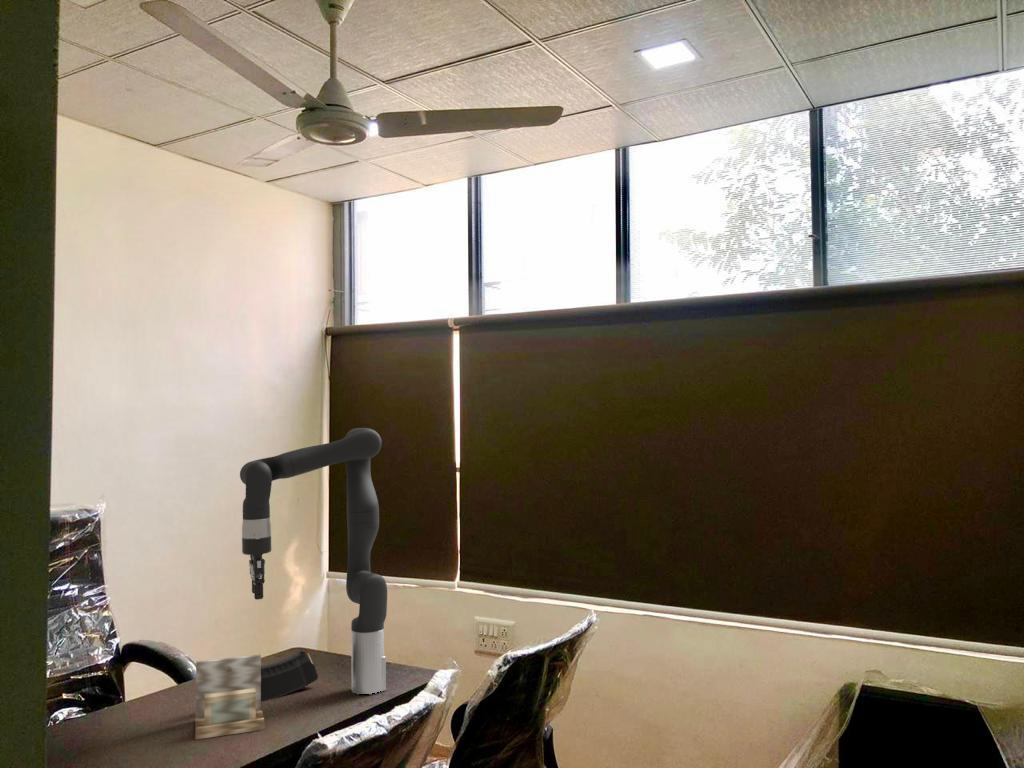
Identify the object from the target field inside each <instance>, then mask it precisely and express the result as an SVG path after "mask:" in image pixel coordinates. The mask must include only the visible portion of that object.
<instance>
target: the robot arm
mask: <svg viewBox="0 0 1024 768" xmlns="http://www.w3.org/2000/svg"><path fill="white" fill-rule="evenodd" d="M382 443H383V442H382V438H381V436H380V434H379V433H378V432H377V431H376V430H374V429H372V428H368V427H358V428H357V427H356V428H352V429H350V430H349V431H348V432H347V433H346V434H345V436H344V438H341V439H339V440H334V441H332V442H328V443H327V442H326V443H322V444H317V445H311V446H307V447H303V448H298V449H294V450H290V451H287V452H283V453H281V454H278V455H274V456H269V457H264V458H259V459H254V460H252V461H248V462H247V463H245V464H244V465H243V466H242V467H241V468H240V471H239V478H240V481H241V482H242V483H243V484H244V485H245V497H244V499H243V501H242V524H241V545H242V547H241V549H242V550H241V552H242V554H243V555H246V556H249V557H250V559H249V560H248V566H249V574H250V579H251V593H252V594H253V596H254V597H253V598H254V600H263V599H264V584H265V580H266V579H265V575H266V568H265V567H266V560H265V558H263V555H264V554H270V552H272V523H271V508H270V507H271V505H270V498H271V493H272V492H271V491H272V483H273V481H277V480H280V479H281V480H282V479H289V478H294V477H297V476H300V475H303V474H304V475H305V474H306V473H311V472H314V471H317V470H319V469H322V468H326V467H328V466H332V465H335V464H339V463H340V464H341V463H344V462H345V463H344V464H345V470H346V471H345V472H346V524H347V569H346V580H345V582H346V583H345V587H346V589H345V590H346V595H347V597H348V599H349V600H350V601H351V602H353V603H355V604H358V605H359V607H358V609H359V610H358V616H356V617H354V618H353V619H352V621H351V626H350V628H351V629H350V631H351V634H350V635H351V639H350V640H351V641H350V643H351V649H350V651H351V685H350V686H351V692H352V693H353V694H355V693H356V694H355V695H359V694H369V695H373V694H372V693H375V694H378V693H377V692H379V693H381V692H386V691H385V690H387V675H386V673H387V670H386V669H387V668H386V667H387V663H386V656H385V641H384V640H385V638H384V636H385V635H384V634H385V633H384V632H385V631H384V628H385V626H384V625H385V622H386V619H387V613H388V612H387V611H388V585H387V582H386V579H385V578H384V577H383V576H382V575H381V574H377V573H374V572H373V573H372V570H371V554H372V553H371V551H372V548H373V546H374V542H375V540H376V538H377V535H378V532H379V528H380V507H379V499H378V496H377V492H376V489H375V487H374V483H373V480H372V474H371V473H372V472H371V459H372V458H374V457H375V456H376V455H378V454H379V452H380V451H381V448H382ZM380 691H381V692H380Z"/></svg>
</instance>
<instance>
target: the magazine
mask: <svg viewBox="0 0 1024 768" xmlns="http://www.w3.org/2000/svg"><path fill="white" fill-rule="evenodd" d="M318 679H319V675H318V671H317V669H316V665H315V664H314V663H313V661H312V658H311V656H310V654H309V652H308V653H306V651H305V650H303V649H302V650H300V652H299V653H296V654H292V656H290V657H287V658H285V659H282V660H279V661H276V662H273V663H269V664H266V665H261V701H262V702H265V700H266V701H269V699H270V700H274V699H277V697H278V698H281V697H283V696H285V695H289V694H290V693H293V692H296V691H299V690H301V689H302V690H304V689H307V688H306V687H307V686H308V685H310V684H313V683H314V682H316V681H317V680H318ZM288 693H289V694H288ZM273 698H274V699H273Z"/></svg>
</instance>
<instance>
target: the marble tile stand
mask: <svg viewBox="0 0 1024 768" xmlns="http://www.w3.org/2000/svg"><path fill="white" fill-rule="evenodd" d="M261 666H262V656H261V654H253V655H243V656H235V657H226V658H216V659H206V660H198V661H195V668H196V669H195V734H194V735H195V738H194V739H195V740H202V739H208V738H215V737H221V736H222V737H223V736H229V735H236V734H243V733H248V732H257V731H264V730H265V717H264V715H263V710H261V709H262V707H261V706H262V705H261V703H262V702H261ZM252 688H255V690H256V719H250V720H243V721H236V722H229V723H222V724H215V725H208V726H204V704H205V694H212V693H220V692H228V691H236V690H244V689H252Z"/></svg>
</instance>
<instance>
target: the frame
mask: <svg viewBox="0 0 1024 768" xmlns="http://www.w3.org/2000/svg"><path fill="white" fill-rule="evenodd" d="M250 719H256V690H255V688H252V689H244V690H236V691H228V692H220V693H212V694H205V704H204V726H208V725H215V724H222V723H229V722H236V721H243V720H250Z"/></svg>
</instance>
